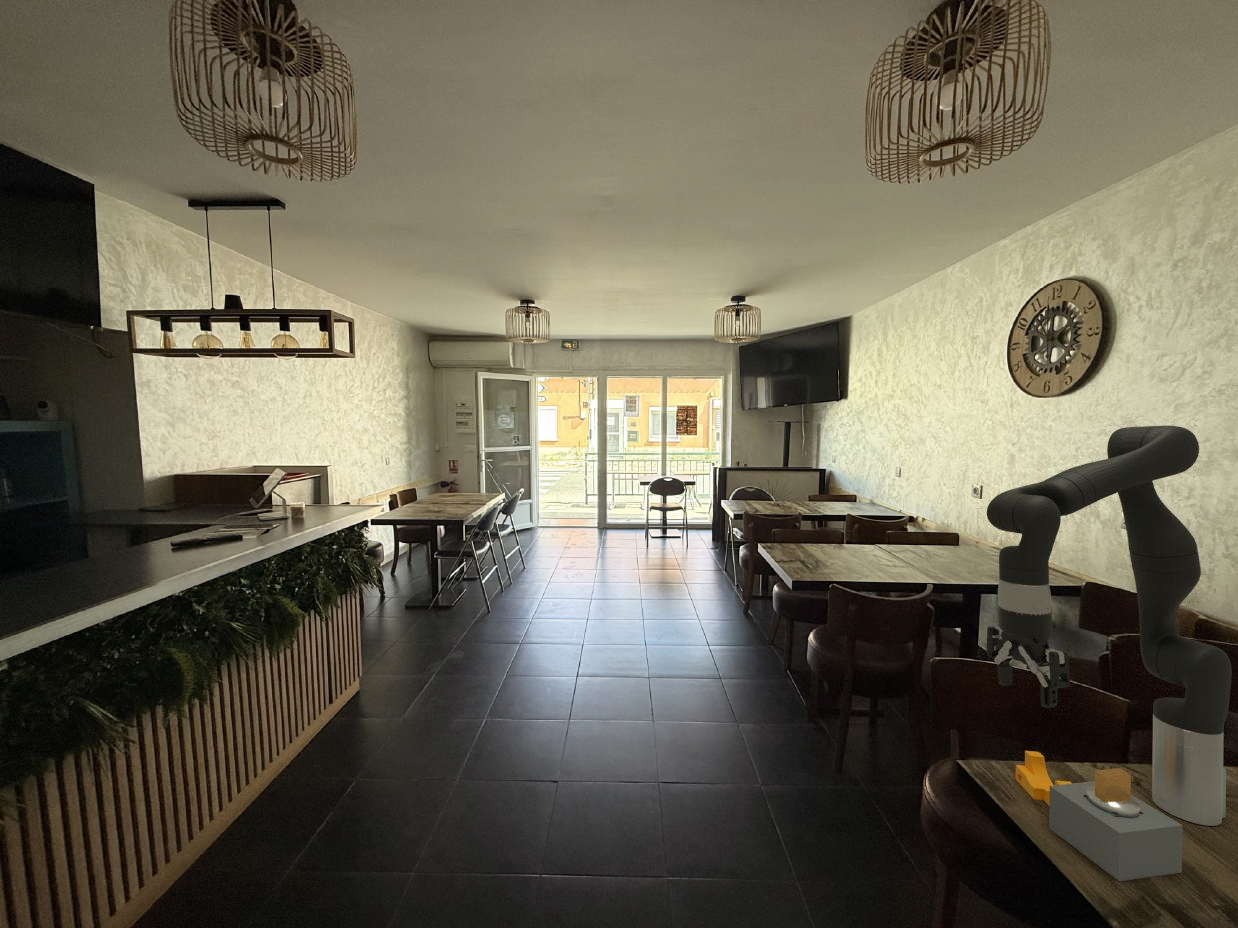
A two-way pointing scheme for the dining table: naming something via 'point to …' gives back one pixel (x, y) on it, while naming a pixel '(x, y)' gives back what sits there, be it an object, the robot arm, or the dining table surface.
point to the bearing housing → (1116, 834)
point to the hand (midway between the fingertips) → (1025, 695)
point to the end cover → (1113, 793)
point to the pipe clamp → (1036, 776)
